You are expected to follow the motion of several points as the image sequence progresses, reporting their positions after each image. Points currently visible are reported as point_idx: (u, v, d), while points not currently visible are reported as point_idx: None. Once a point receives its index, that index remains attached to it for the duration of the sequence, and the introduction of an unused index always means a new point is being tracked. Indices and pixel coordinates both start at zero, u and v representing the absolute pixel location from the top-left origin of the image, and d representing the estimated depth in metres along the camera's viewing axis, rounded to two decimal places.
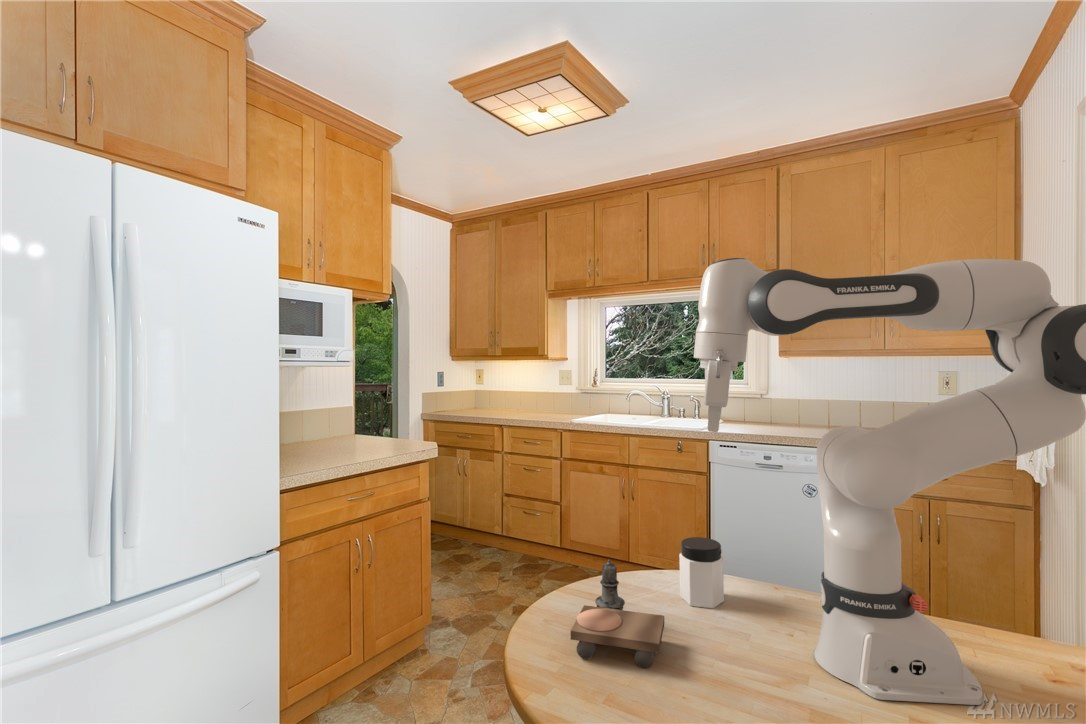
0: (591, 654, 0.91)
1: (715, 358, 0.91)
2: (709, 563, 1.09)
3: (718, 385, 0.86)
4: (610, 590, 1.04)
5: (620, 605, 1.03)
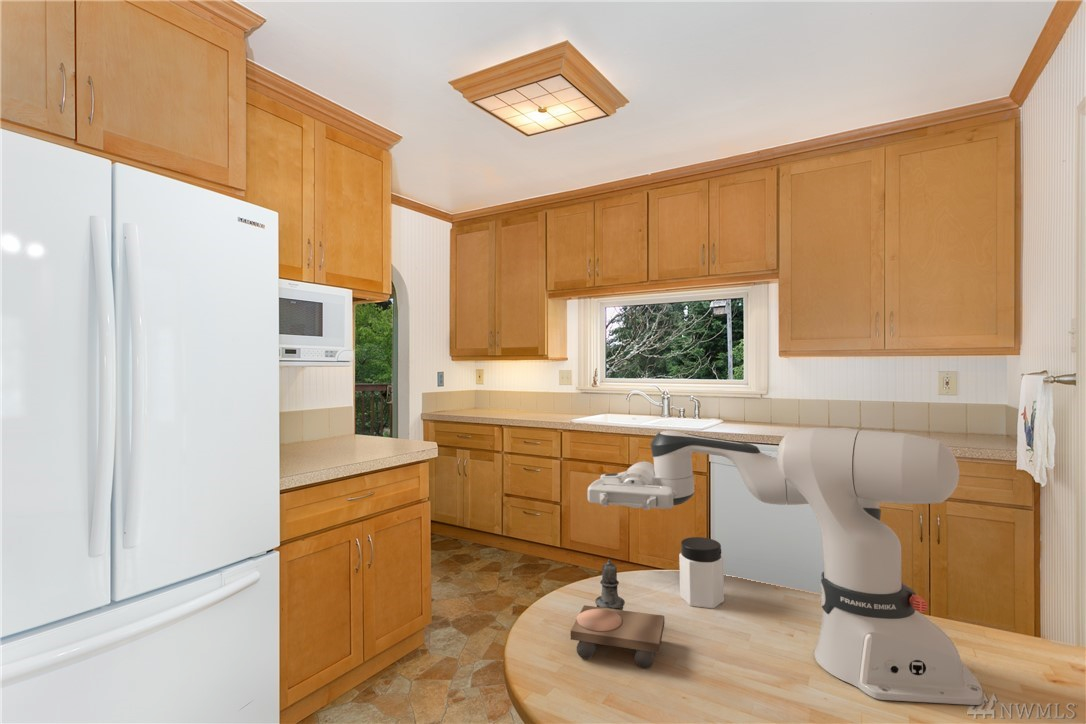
0: (591, 654, 0.91)
1: None
2: (709, 563, 1.09)
3: None
4: (610, 590, 1.04)
5: (620, 605, 1.03)
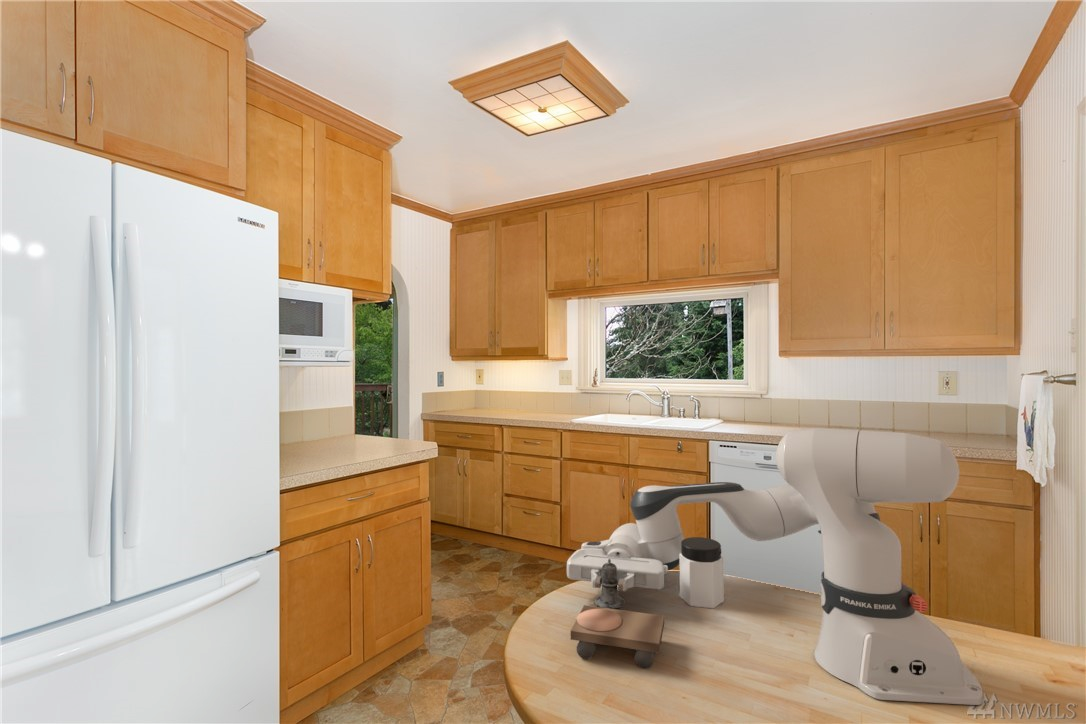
0: (591, 654, 0.91)
1: None
2: (709, 563, 1.09)
3: None
4: (610, 590, 1.04)
5: (620, 605, 1.03)
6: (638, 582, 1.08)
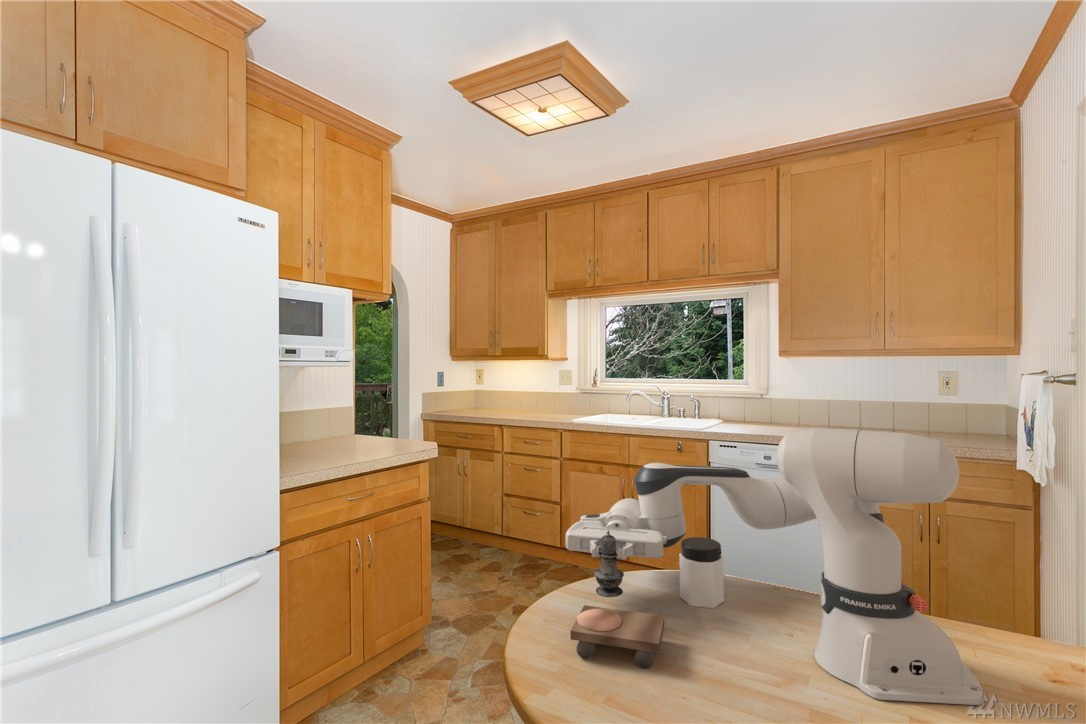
0: (591, 654, 0.91)
1: None
2: (709, 563, 1.09)
3: None
4: (609, 562, 1.04)
5: (619, 576, 1.03)
6: (637, 552, 1.08)
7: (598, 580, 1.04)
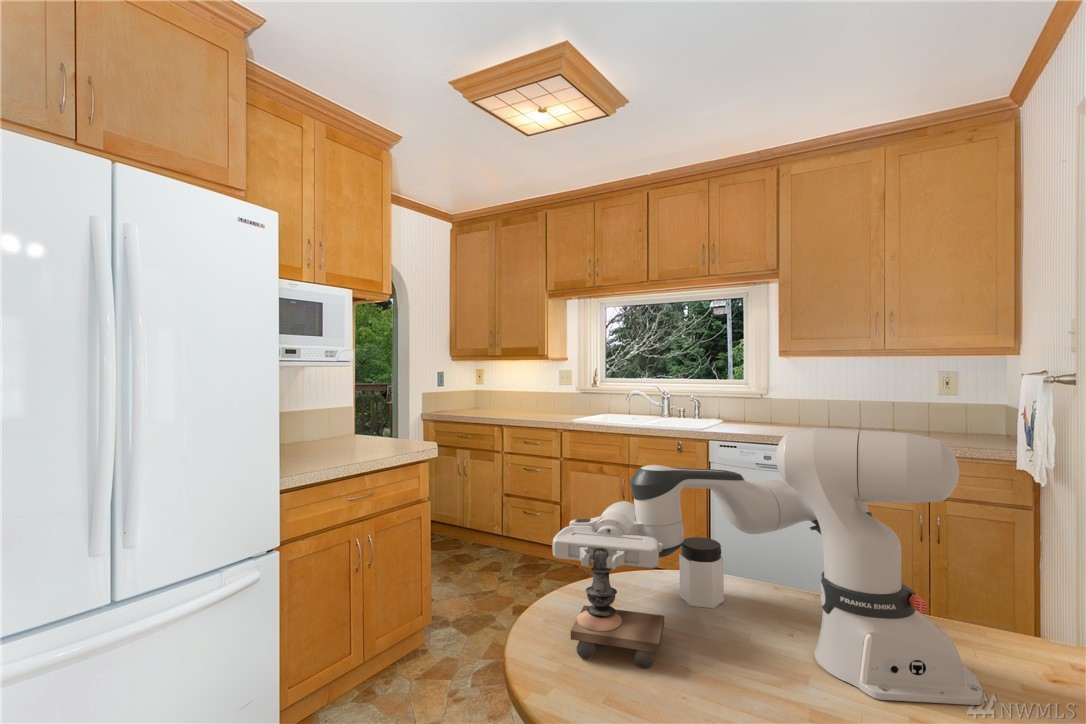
0: (591, 654, 0.91)
1: None
2: (709, 563, 1.09)
3: None
4: (601, 577, 0.98)
5: (612, 593, 0.97)
6: (630, 560, 0.99)
7: (590, 597, 0.98)
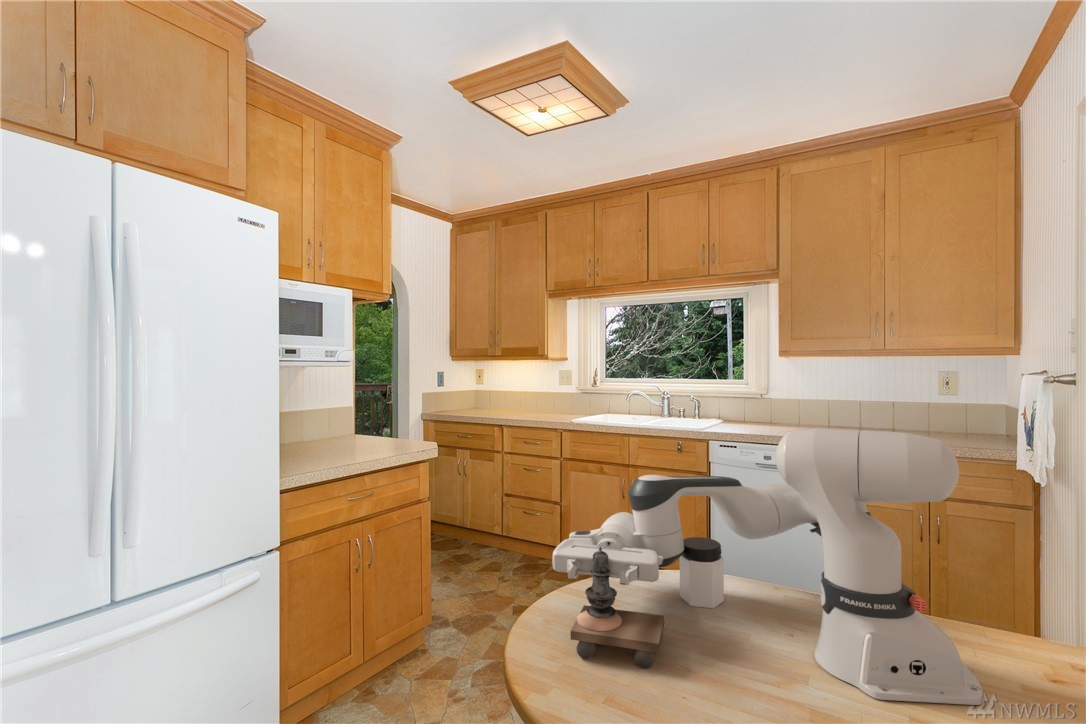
0: (591, 654, 0.91)
1: None
2: (709, 563, 1.09)
3: None
4: (601, 580, 0.97)
5: (612, 596, 0.97)
6: None
7: (589, 600, 0.97)
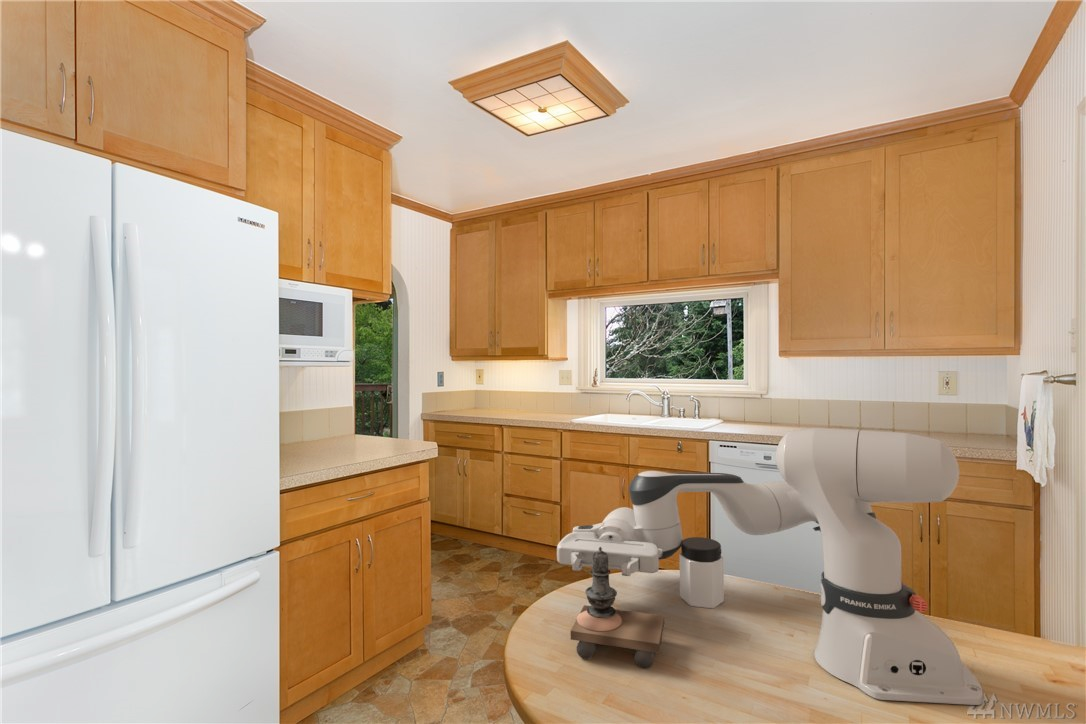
0: (591, 654, 0.91)
1: None
2: (709, 563, 1.09)
3: None
4: (601, 580, 0.97)
5: (612, 595, 0.97)
6: None
7: (589, 600, 0.97)
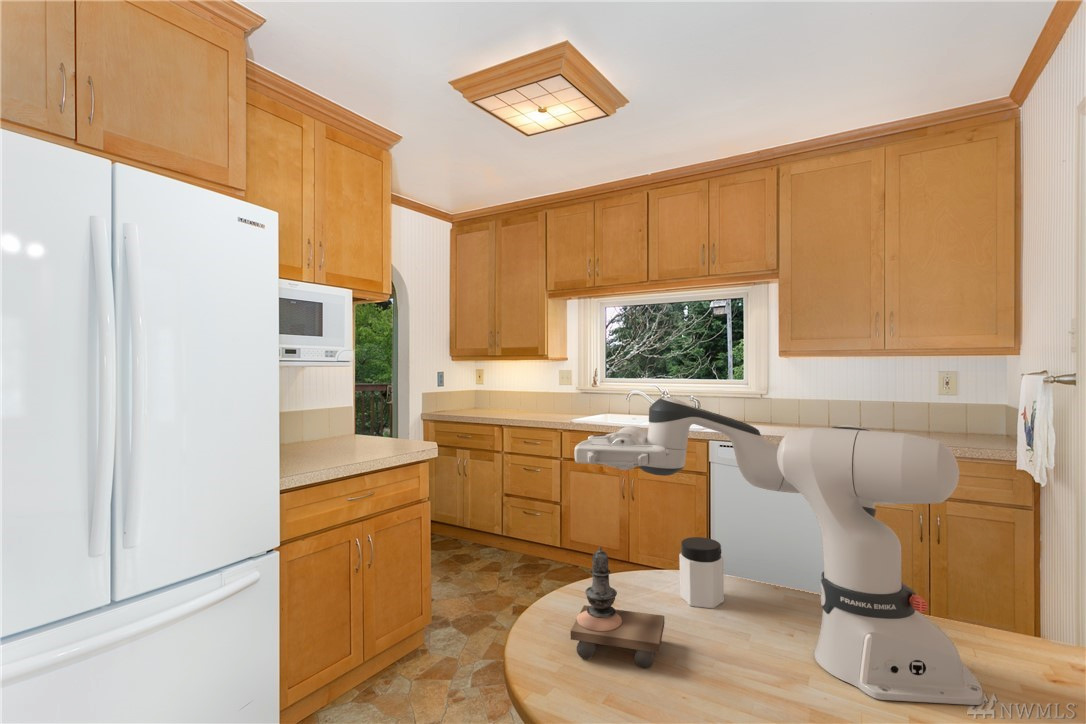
0: (591, 654, 0.91)
1: None
2: (709, 563, 1.09)
3: None
4: (601, 580, 0.97)
5: (612, 595, 0.97)
6: None
7: (589, 600, 0.97)
